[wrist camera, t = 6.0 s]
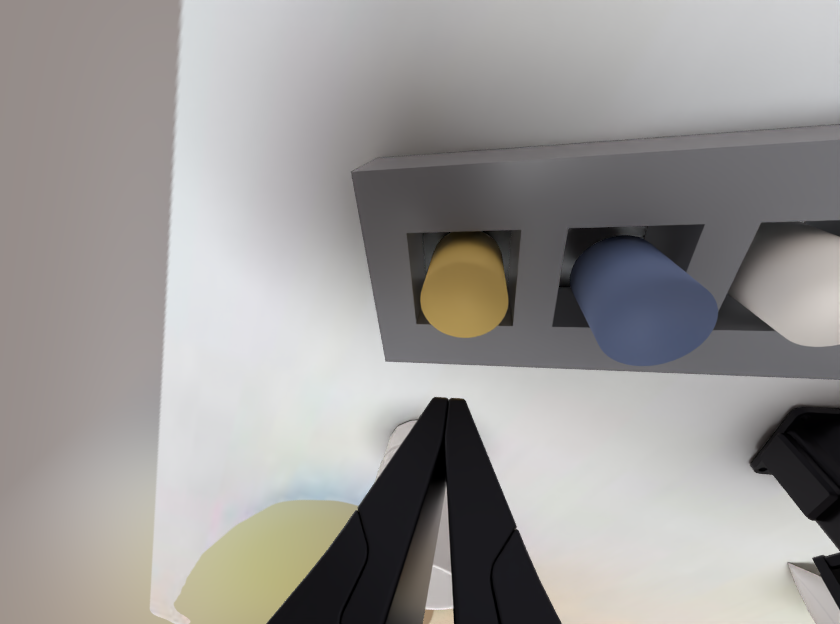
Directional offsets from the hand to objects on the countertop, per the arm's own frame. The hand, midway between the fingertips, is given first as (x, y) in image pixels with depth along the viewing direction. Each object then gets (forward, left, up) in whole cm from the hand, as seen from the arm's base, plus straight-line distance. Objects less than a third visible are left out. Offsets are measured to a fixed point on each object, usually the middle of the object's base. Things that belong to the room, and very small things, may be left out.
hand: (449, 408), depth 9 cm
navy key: (-7, 0, -8) cm, 11 cm away
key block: (-7, 0, -12) cm, 13 cm away
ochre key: (0, 0, -10) cm, 10 cm away
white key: (-13, 0, -10) cm, 16 cm away
